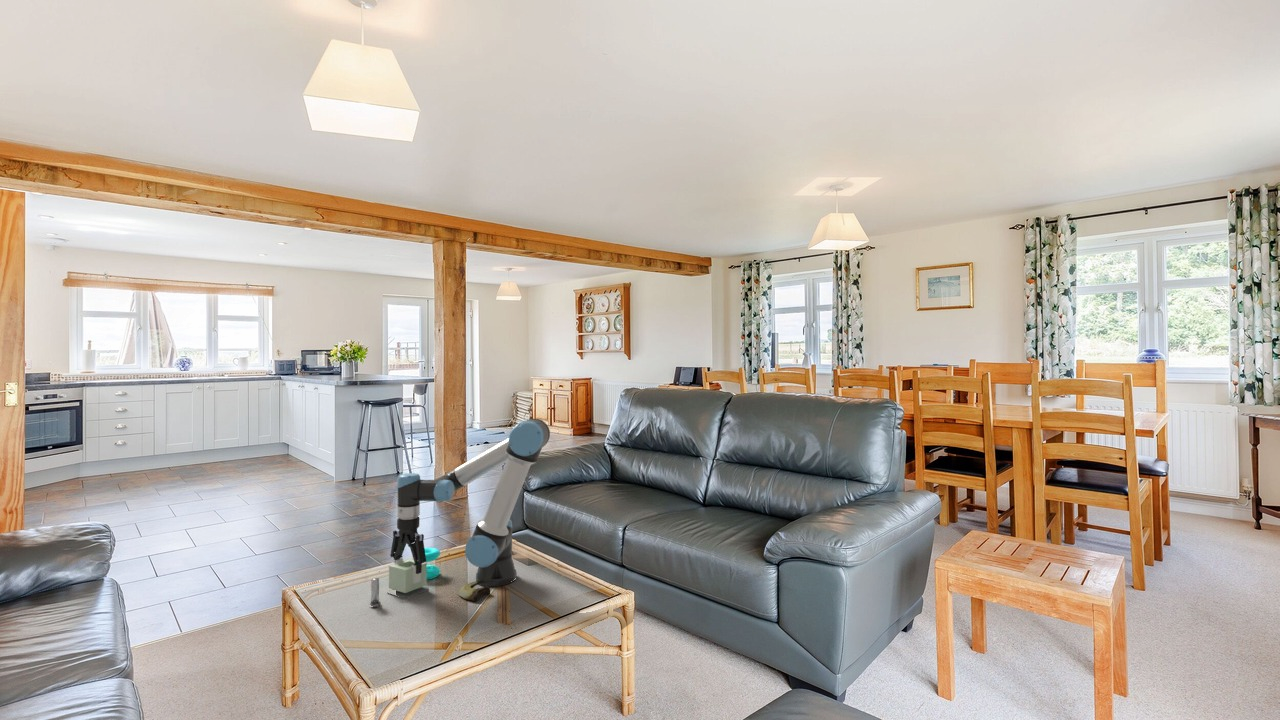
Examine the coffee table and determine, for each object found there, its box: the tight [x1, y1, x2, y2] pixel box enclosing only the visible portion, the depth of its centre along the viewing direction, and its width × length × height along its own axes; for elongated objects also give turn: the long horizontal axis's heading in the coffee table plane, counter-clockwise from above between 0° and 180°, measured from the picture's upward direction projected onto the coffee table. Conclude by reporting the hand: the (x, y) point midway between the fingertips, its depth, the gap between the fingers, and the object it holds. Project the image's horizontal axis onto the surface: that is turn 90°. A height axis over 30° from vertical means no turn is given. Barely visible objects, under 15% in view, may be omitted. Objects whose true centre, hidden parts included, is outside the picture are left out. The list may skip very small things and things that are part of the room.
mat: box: [396, 586, 430, 600], centre depth 210 cm, size 10×10×1 cm
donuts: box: [424, 547, 441, 581], centre depth 226 cm, size 10×10×10 cm
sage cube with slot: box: [388, 558, 428, 593], centre depth 210 cm, size 9×9×8 cm
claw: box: [458, 581, 491, 602], centre depth 210 cm, size 20×10×3 cm, turn 26°
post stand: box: [369, 577, 382, 608], centre depth 198 cm, size 4×4×9 cm
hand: (407, 579), depth 210 cm, fingers closed on sage cube with slot, 9 cm apart
